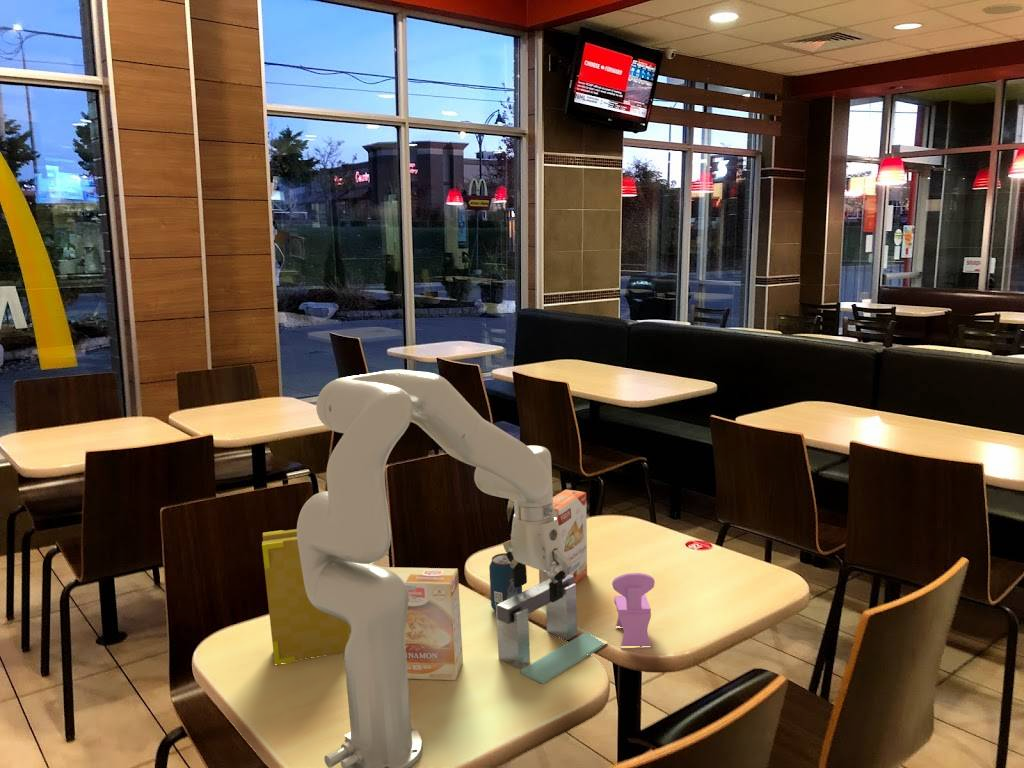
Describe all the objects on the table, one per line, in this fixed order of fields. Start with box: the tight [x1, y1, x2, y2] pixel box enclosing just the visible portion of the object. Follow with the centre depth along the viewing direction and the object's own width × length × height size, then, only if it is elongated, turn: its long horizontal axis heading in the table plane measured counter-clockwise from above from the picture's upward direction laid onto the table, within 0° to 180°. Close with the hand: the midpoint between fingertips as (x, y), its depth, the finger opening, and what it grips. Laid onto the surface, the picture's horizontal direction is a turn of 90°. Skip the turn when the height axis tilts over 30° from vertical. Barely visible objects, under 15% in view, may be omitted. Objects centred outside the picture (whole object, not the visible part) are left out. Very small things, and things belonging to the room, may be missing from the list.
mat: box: [520, 632, 604, 685], centre depth 155 cm, size 19×6×1 cm, turn 135°
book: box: [261, 528, 351, 665], centre depth 160 cm, size 17×7×25 cm, turn 105°
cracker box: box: [538, 489, 588, 585], centre depth 186 cm, size 14×6×21 cm, turn 148°
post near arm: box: [495, 606, 531, 669], centre depth 154 cm, size 3×6×11 cm, turn 45°
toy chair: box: [611, 572, 656, 647], centre depth 160 cm, size 8×9×15 cm
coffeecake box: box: [382, 566, 464, 681], centre depth 151 cm, size 15×7×20 cm, turn 82°
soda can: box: [489, 552, 523, 614], centre depth 175 cm, size 7×7×12 cm
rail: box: [496, 574, 574, 624], centre depth 158 cm, size 19×3×3 cm, turn 135°
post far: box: [545, 583, 578, 641], centre depth 164 cm, size 3×6×11 cm, turn 45°
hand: (538, 592), depth 158 cm, fingers open, 9 cm apart
